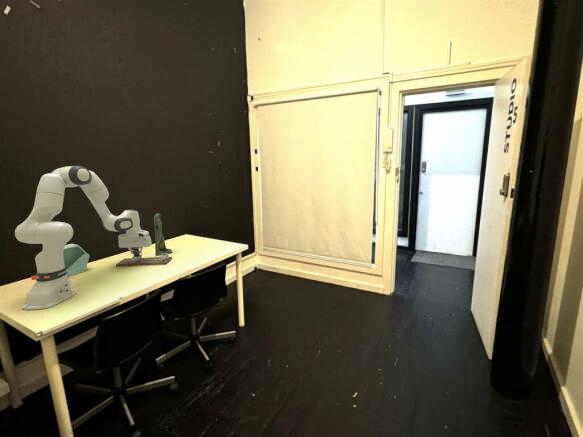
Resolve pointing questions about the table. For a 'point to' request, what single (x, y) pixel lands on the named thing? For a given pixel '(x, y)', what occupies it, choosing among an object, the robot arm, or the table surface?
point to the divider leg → (136, 255)
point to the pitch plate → (146, 261)
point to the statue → (159, 237)
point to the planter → (75, 259)
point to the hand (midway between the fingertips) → (136, 253)
